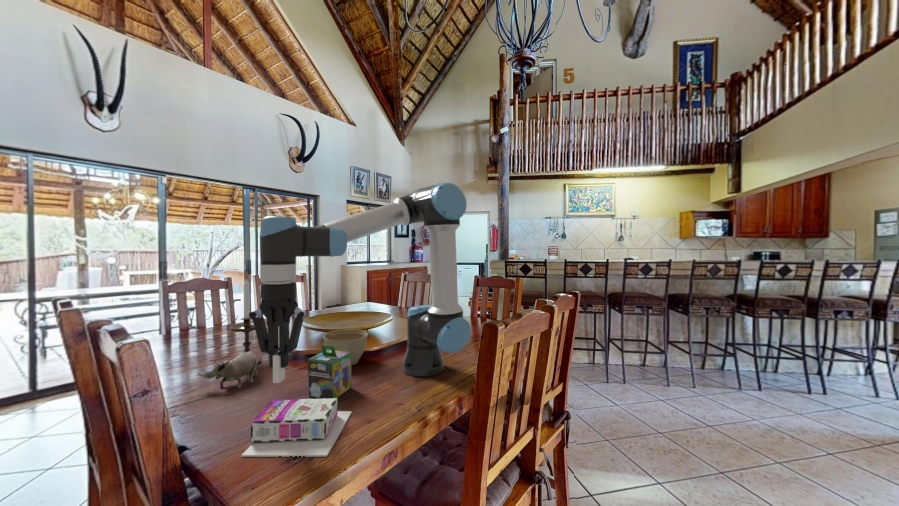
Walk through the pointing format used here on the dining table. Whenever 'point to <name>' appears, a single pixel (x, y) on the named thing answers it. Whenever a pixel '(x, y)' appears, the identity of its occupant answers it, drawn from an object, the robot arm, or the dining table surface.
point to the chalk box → (329, 373)
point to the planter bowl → (347, 342)
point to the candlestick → (245, 320)
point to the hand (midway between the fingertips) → (279, 380)
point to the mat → (300, 443)
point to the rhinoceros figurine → (235, 369)
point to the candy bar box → (294, 420)
